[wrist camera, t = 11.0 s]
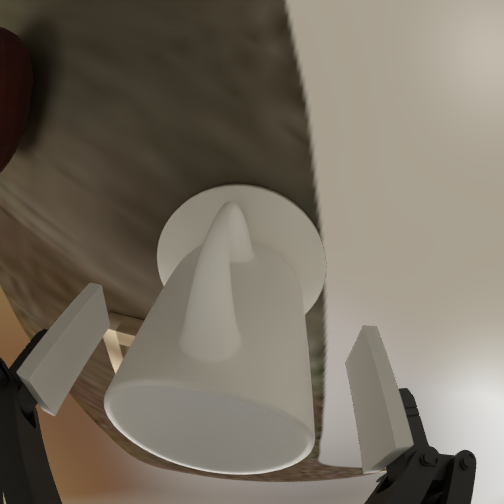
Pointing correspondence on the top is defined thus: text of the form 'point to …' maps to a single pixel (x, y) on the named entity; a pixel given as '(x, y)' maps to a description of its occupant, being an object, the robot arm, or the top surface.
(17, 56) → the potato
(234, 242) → the mug
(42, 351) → the robot arm
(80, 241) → the top surface
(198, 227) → the plate
